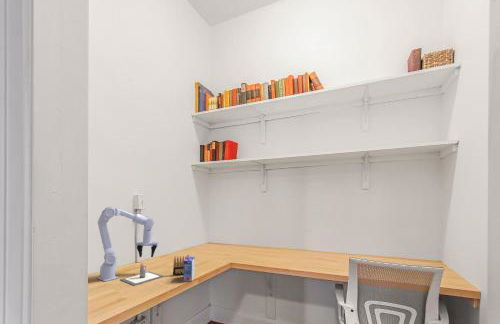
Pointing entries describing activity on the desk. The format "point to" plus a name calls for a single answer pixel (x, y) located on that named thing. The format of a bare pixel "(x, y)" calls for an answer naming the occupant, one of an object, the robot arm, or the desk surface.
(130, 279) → the writing mat
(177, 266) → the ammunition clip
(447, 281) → the desk surface
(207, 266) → the desk surface
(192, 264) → the blue drink carton
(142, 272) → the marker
